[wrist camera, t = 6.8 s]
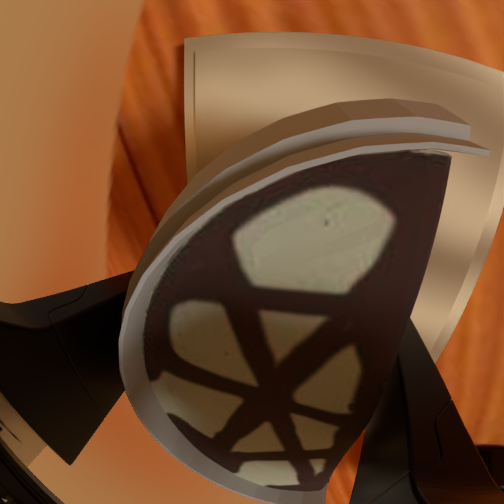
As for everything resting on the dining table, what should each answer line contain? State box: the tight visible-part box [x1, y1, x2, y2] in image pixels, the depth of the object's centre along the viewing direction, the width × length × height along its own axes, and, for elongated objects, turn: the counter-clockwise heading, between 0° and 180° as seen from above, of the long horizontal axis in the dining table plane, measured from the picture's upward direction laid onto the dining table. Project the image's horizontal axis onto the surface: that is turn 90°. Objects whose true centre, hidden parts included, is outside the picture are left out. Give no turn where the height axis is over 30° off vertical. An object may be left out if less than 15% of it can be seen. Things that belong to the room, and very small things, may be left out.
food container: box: [119, 98, 490, 504], centre depth 10 cm, size 12×6×10 cm, turn 0°
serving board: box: [184, 32, 504, 363], centre depth 15 cm, size 16×16×2 cm
